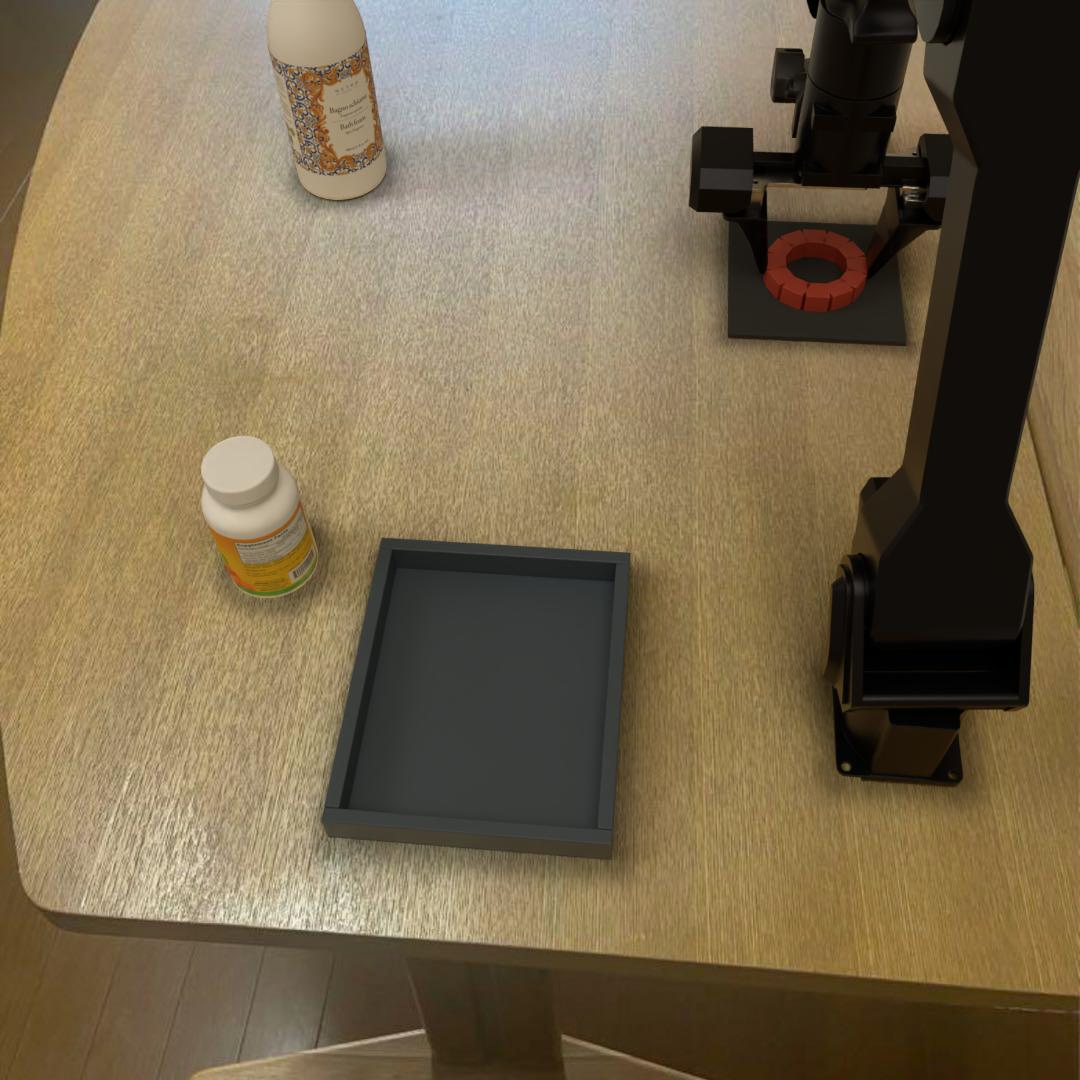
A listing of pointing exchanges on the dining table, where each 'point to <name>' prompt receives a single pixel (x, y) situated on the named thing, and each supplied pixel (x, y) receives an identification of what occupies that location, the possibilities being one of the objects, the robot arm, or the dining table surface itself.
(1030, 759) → the dining table surface
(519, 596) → the tray
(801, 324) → the mat
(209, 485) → the supplement bottle
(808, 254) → the ring
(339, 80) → the bath foam
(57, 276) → the dining table surface
